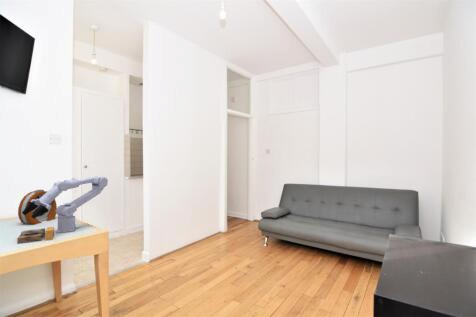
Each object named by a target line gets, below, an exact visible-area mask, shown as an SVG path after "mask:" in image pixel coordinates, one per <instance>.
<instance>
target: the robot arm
mask: <svg viewBox="0 0 476 317" xmlns="http://www.w3.org/2000/svg"><path fill="white" fill-rule="evenodd" d="M108 180H109V179H108V178H107V177H104V176H103V177H102V176H90V177H85V178H83V179H77V178H75V177H74V178H71V179H69V180H68V179H64V180H63V181H56V182H54V183H53V185H52V187H51V188H50V189H49V190H47V191H48V192H47V193H45V194H44V195H43V196H42V197H41V198H40V199H36V200H34V199H33V200H31V201H29V202H28V204H27V206H26V208H25V209H24V211H23V212H22V214H24V215H26V214H28V213H29V212H30V211H32V210H33V209H35V208H38V209H37V210H36V211H35V212H34V213H33V214H32V216H31V217H32V218H33V219H34V218H36V217H38V216H39V215H41V214H44V213H46V212H48V210H49V209H50V208H51V206H50V205H48V204H50V203H51V202H52V201H53V200H54V199H55V200H56V198H57V197H58V196H60V195H61V194H62V193H63V192H66V191H68V190H72V189H76V188H79V187H80V186H81V185H85V184H91V190H89V191H87V192H86V193H84V194H82V195H80V196H79V197H77V198H76V199H74V200H72V201H71V202H65V203H66V204H64V205H61V206H60V205H59V206H57V208H56V215H57V229H56V232H55V233H56V234H58V233H66V232H67V233H68V232H75V231H76V227H77V225H76V215H74V214H75V213H76V212H77V210H78V208H79V207H81V206H83V205H85V204H86V203H87V202H90V200H92V199H94V198H95V197H97V196H98V195H100V194H101V193H102V191H103V190H104V189H105V187H107V186H108ZM36 205H38V206H39V207H37V206H36ZM47 209H48V210H47ZM72 215H73V216H72Z"/></svg>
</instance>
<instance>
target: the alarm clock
mask: <svg viewBox="0 0 476 317" xmlns="http://www.w3.org/2000/svg"><path fill="white" fill-rule="evenodd" d="M48 191H49V190H47V191H45V190H44V189H35V190H34V191H30V192H28V193H27V194H25V195H24V196H23V197H22V199H21V200H20V202H19V205H18V210H17V215H18V216H17V217H18V219H19V221H20V222H21V224H22V223H23V224H24V225H34V226H35V225H39V224H42V223H43V222H46V221H47V222H50V221H53V220H55V218H56V215H57V214H56V208H57V207H58V206H57V201H56V198H55V199H54V200H53V201H52V202H51V203H50V204H48V205H50V206H51V208H50V209H49V210H48V209H47V210H48V212H46V213H44V214H41V215H39V216H38V217H36V218H34V219H33V218H32V217H31V216H32V214H33V213H34V212H35V211H36V210H37V209H38V208H35V209H33V210H32V211H30V212H29V213H28V214H26V215H24V214H22V212H23V211H24V209H25V208H26V206H27V204H28V202H29V201H31V200H33V199H34V200H36V199H40V198H41V197H42V196H43V195H44V194H45V193H47V192H48ZM36 206H37V207H39V206H38V205H36Z"/></svg>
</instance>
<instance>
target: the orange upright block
mask: <svg viewBox="0 0 476 317" xmlns="http://www.w3.org/2000/svg"><path fill="white" fill-rule="evenodd" d="M54 232H55V226H49V227H46V228H45V241H53V238H54V237H55V233H54Z"/></svg>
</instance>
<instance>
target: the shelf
mask: <svg viewBox="0 0 476 317" xmlns="http://www.w3.org/2000/svg"><path fill="white" fill-rule="evenodd" d="M44 236H46V228H38V229H28V230H27V229H25V230H21V231H20V235H19V236H17V240H16V242H17V245H19V244H25V243H34V242H41V241H42V240H43V238H44Z"/></svg>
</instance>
